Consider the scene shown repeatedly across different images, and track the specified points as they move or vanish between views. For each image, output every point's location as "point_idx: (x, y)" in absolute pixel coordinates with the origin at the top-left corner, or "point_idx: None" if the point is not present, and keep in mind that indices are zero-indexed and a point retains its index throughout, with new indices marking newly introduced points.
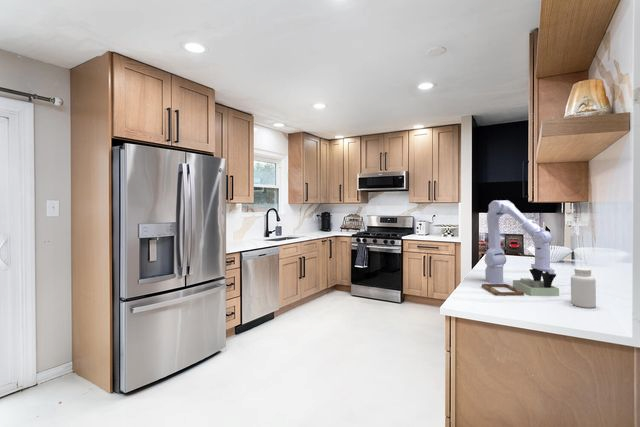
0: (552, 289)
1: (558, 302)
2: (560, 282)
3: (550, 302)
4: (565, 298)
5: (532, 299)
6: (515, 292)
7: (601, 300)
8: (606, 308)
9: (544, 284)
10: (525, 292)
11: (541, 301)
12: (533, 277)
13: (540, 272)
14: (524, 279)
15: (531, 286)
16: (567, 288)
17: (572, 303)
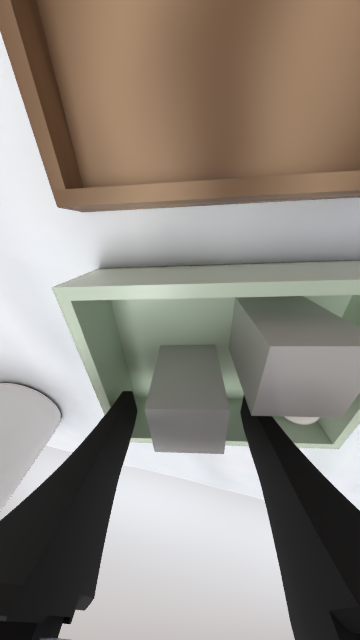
0: None
1: (28, 353)
2: (355, 485)
3: (7, 319)
4: None
5: (30, 246)
6: (16, 78)
7: None
8: None
9: (108, 416)
10: (166, 269)
11: (3, 282)
12: (284, 448)
13: (287, 567)
14: (312, 361)
15: (237, 356)
16: None
17: (4, 386)
